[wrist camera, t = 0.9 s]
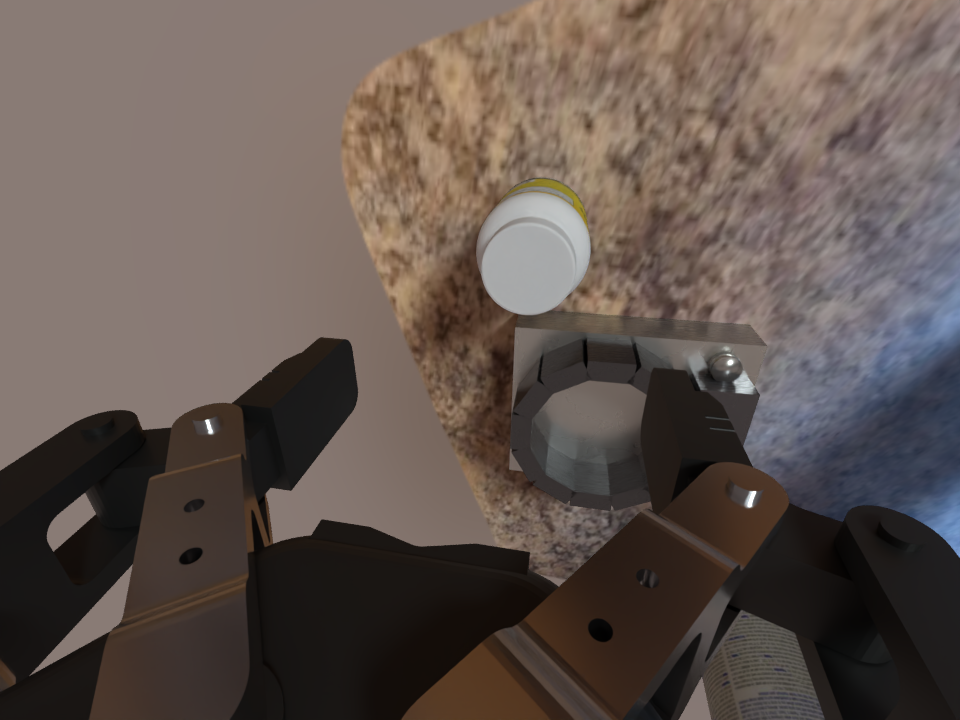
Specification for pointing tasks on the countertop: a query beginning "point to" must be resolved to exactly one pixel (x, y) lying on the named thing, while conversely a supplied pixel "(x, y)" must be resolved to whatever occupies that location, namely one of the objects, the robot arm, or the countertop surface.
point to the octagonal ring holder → (613, 396)
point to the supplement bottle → (534, 246)
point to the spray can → (760, 675)
